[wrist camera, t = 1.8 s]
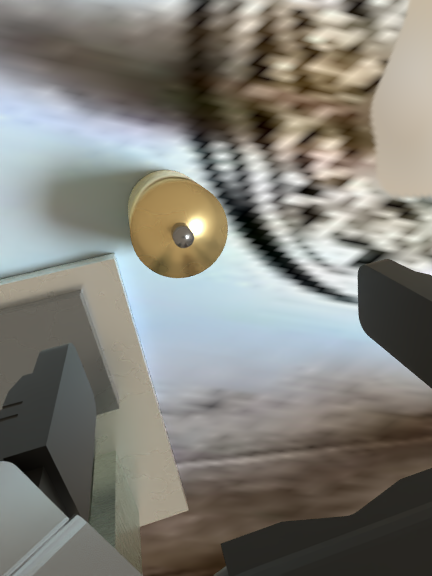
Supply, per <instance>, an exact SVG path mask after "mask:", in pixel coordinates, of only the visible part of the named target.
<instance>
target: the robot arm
mask: <svg viewBox="0 0 432 576" xmlns="http://www.w3.org/2000/svg"><path fill="white" fill-rule="evenodd" d="M358 310H359V320H360V323H361V326H362V328H363V330H364V331H365V333H366V334H367V335H368V336H369V337H370V338H372V339H373V340H374V341H375V342H377V343H378V344H379V345H380V346H381V347H383V348H384V349H385V350H386V351H387V352H389V353H390V354H391V355H392V356H393V357H395V358H396V359H397V360H398V361H399V362H401V363H402V364H403V365H404V366H405V367H407V368H408V369H409V370H410V371H411V372H413V373H414V374H415V375H416V376H417V377H419V378H420V379H421V380H422V381H424V382H425V383H426V384H427V385H428V386H430V387H431V388H432V276H431V275H428V274H424V273H420V272H415V271H413V270H411V269H409V268H407V267H404V266H402V265H400V264H398V263H396V262H394V261H392V260H390V259H384V260H381V261H377V262H373V263H369V264H366V265H362V266H361V267H360V268H359V270H358ZM2 408H3V409H2V410H1V411H0V576H143V575H142V574H141V573H140V572H139V571H138V570H137V569H135V568H134V567H133V566H132V565H131V564H130V563H129V562H128V561H127V560H126V559H125V558H124V557H123V556H122V555H121V554H120V553H119V552H118V551H117V550H116V549H115V548H113V547H112V546H111V545H110V544H109V543H108V542H107V541H106V540H105V539H104V538H103V537H102V536H101V535H100V534H99V533H98V532H97V531H96V530H95V529H94V528H93V527H91V526H90V525H89V524H88V523H89V509H90V496H91V482H92V468H93V454H94V441H95V427H96V404H95V399H94V395H93V392H92V389H91V386H90V384H89V381H88V379H87V376H86V374H85V371H84V368H83V366H82V363H81V361H80V358H79V356H78V353H77V351H76V348H75V347H74V345H73V344H72V343H68V344H64V345H61V346H57V347H53V348H49V349H46V350H42V351H40V353H39V355H38V358H37V361H36V364H35V367H34V370H33V373H31V374H27V375H24V376H22V377H21V378H20V379H19V380H18V381H17V383H16V384H15V385H14V386H13V387H12V388H11V389H10V390H9V391H8V394H7V396H6V399H5V401H4V404H3V406H2ZM221 547H222V551H223V555H224V559H225V563H226V566H225V567H224V568H223V569H221V570H220V571H219V572H217V573H216V574H215V575H213V576H432V468H431V469H428V470H425V471H422V472H420V473H417V474H414V475H411V476H408V477H406V478H403V479H400V480H399V481H398V482H396V483H395V484H394V485H392V486H391V487H390V488H388V489H387V490H386V491H384V492H383V493H382V494H380V495H379V496H378V497H376V498H375V499H374V500H372V501H371V502H370V503H368V504H367V505H366V506H364V507H363V508H362V509H360V510H359V511H358V512H356V513H355V514H352V515H350V516H344V517H333V518H321V519H310V520H298V521H286V522H280V523H278V524H275V525H272V526H269V527H266V528H264V529H261V530H258V531H255V532H252V533H250V534H247V535H244V536H241V537H239V538H236V539H233V540H230V541H227V542H225V543H222V544H221Z"/></svg>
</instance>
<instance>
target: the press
mask: <svg viewBox="0 0 432 576" xmlns="http://www.w3.org/2000/svg"><path fill="white" fill-rule="evenodd" d="M68 343H72V344H73V345H74V347H75V348H76V351H77V353H78V356H79V358H80V361H81V363H82V366H83V368H84V371H85V374H86V376H87V379H88V381H89V384H90V386H91V389H92V392H93V395H94V399H95V404H96V427H95V441H94V454H93V468H92V482H91V496H90V509H89V523H88V524H89V525H90V526H91V527H93V528H94V529H95V530H96V531H97V532H98V533H99V534H100V535H101V536H102V537H103V538H104V539H105V540H106V541H107V542H108V543H109V544H110V545H111V546H112V547H113V548H115V549H116V550H117V551H118V552H119V553H120V554H121V555H122V556H123V557H124V558H125V559H126V560H127V561H128V562H129V563H130V564H131V565H132V566H133V567H134V568H135V569H137V570H138V571H139V572H140V573H141V574H142V560H141V541H140V527H141V526H144V525H147V524H150V523H153V522H156V521H159V520H162V519H165V518H168V517H170V516H173V515H176V514H179V513H182V512H185V511H188V510H189V509H188V504H187V499H186V495H185V492H184V488H183V485H182V482H181V478H180V475H179V471H178V468H177V465H176V461H175V458H174V454H173V451H172V448H171V444H170V441H169V437H168V434H167V431H166V427H165V424H164V420H163V417H162V414H161V410H160V407H159V403H158V400H157V397H156V393H155V390H154V387H153V383H152V380H151V376H150V373H149V370H148V366H147V363H146V359H145V356H144V353H143V349H142V346H141V342H140V339H139V336H138V332H137V329H136V325H135V322H134V319H133V315H132V312H131V308H130V305H129V302H128V298H127V295H126V291H125V288H124V285H123V281H122V278H121V274H120V271H119V268H118V264H117V261H116V257H115V254H114V253H112V254H108V255H104V256H99V257H95V258H91V259H86V260H82V261H78V262H73V263H69V264H65V265H60V266H56V267H52V268H47V269H43V270H39V271H34V272H30V273H26V274H21V275H17V276H13V277H8V278H4V279H0V411H1V410H2V409H3V408H2V406H3V404H4V401H5V399H6V396H7V394H8V391H9V390H10V389H11V388H12V387H13V386H14V385H15V384H16V383H17V381H18V380H19V379H20V378H21V377H22V376H24V375H27V374H31V373H33V370H34V367H35V364H36V361H37V358H38V355H39V353H40V351H42V350H46V349H49V348H53V347H57V346H61V345H64V344H68Z"/></svg>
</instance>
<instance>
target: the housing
mask: <svg viewBox="0 0 432 576" xmlns="http://www.w3.org/2000/svg"><path fill="white" fill-rule="evenodd" d="M128 218H129V226H130V235H131V241H132V245H133V248H134V250H135V252H136V254H137V256H138V257H139V259H140V260H141V261H142V262H143V263H144V265H146V266H147V267H148V268H149V269H151V270H152V271H154V272H156V273H158V274H160V275H163V276H166V277H171V278H185V277H190V276H193V275H196V274H199V273H201V272H203V271H204V270H206V269H207V268H208V267H210V266H211V265H212V264H213V263H214V262H215V261H216V260H217V258H218V257H219V256H220V254H221V252H222V251H223V248H224V246H225V243H226V239H227V232H228V226H227V219H226V215H225V212H224V210H223V208H222V206H221V204H220V203H219V201H218V200H217V199H216V198H215V197H214V195H213V194H211V193H210V192H209V191H208V190H206V189H205V188H203V187H202V186H200V185H199V184H197V183H196V182H195V181H193V180H192V179H190V178H189V177H187V176H186V175H184V174H182V173H179V172H176V171H171V170H161V171H156V172H153V173H150V174H148V175H146V176H145V177H143V178H142V179H141V180H140V181H139V182H138V183H137V184H136V185H135V187H134V188H133V190H132V192H131V194H130V197H129V201H128Z"/></svg>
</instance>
